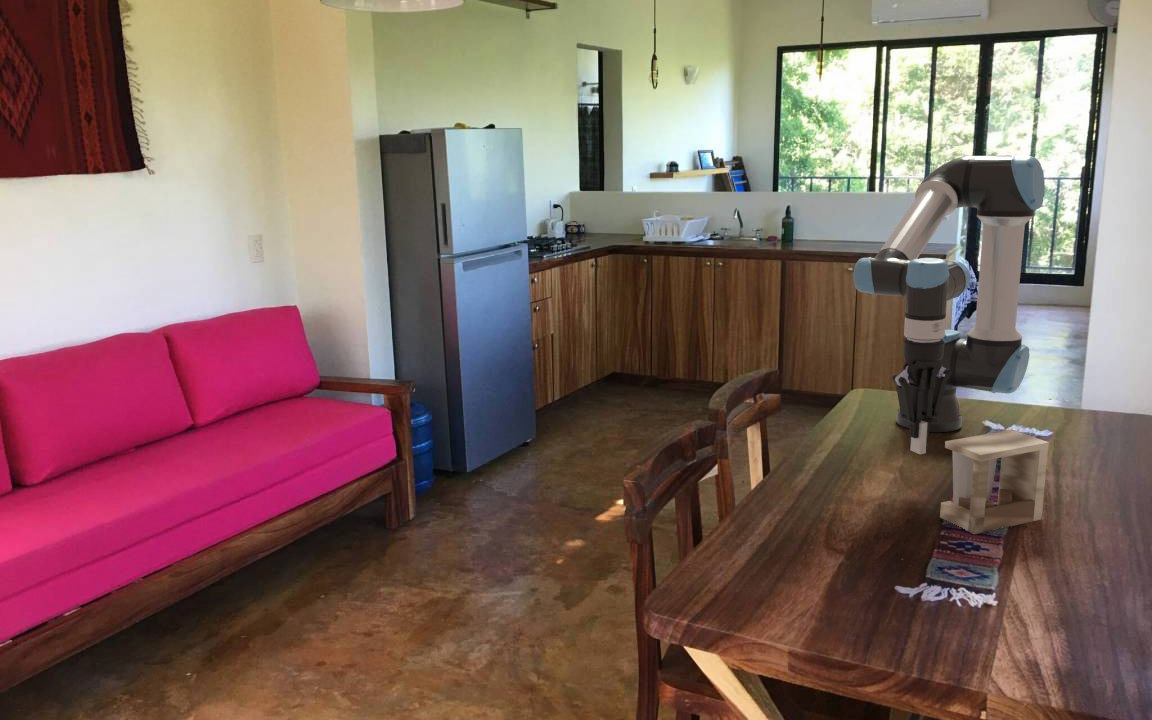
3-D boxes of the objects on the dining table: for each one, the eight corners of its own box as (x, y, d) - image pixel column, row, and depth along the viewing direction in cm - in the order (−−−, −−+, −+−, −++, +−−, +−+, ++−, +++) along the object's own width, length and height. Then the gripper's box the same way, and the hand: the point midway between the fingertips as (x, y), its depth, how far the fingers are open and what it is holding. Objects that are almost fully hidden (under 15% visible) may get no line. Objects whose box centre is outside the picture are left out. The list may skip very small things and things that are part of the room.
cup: (994, 520, 173) (1000, 458, 170) (948, 515, 176) (953, 455, 173) (991, 504, 180) (996, 445, 177) (947, 500, 183) (951, 441, 180)
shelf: (940, 517, 175) (945, 441, 171) (1005, 503, 180) (1011, 429, 177) (974, 534, 167) (980, 455, 164) (1041, 519, 173) (1048, 442, 169)
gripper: (911, 346, 177) (905, 463, 183) (964, 337, 182) (956, 452, 188) (884, 338, 184) (879, 451, 190) (936, 330, 188) (930, 441, 194)
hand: (918, 451), depth 189 cm, fingers closed
